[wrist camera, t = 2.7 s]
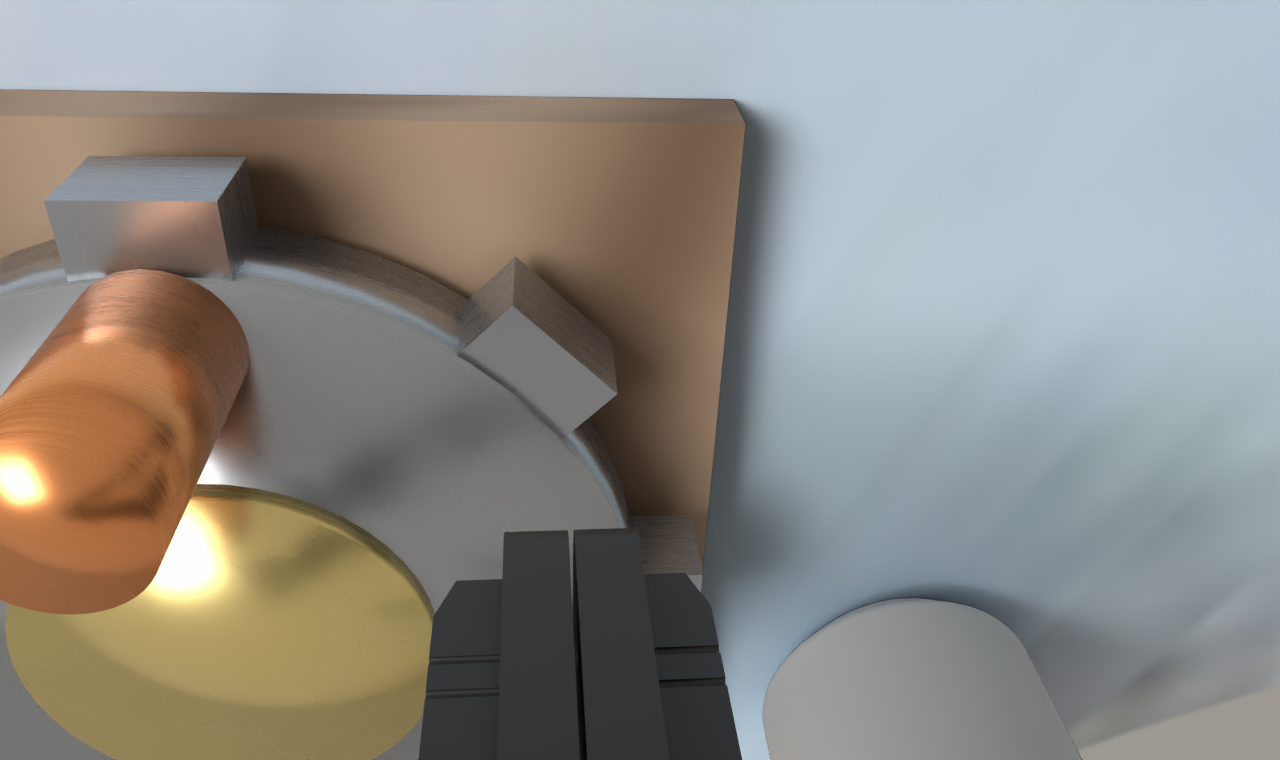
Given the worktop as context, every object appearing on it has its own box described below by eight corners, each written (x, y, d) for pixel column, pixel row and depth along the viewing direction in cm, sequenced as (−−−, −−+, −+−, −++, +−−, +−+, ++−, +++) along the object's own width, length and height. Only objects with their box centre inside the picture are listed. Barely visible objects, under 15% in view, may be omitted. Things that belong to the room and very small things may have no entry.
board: (733, 98, 17) (746, 126, 16) (674, 760, 26) (680, 806, 25) (-392, 84, 15) (-463, 113, 14) (-31, 790, 25) (-58, 840, 24)
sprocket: (720, 155, 16) (800, 366, 11) (665, 804, 25) (696, 1085, 20) (-428, 145, 14) (-948, 382, 9) (-49, 836, 23) (-212, 1147, 18)
